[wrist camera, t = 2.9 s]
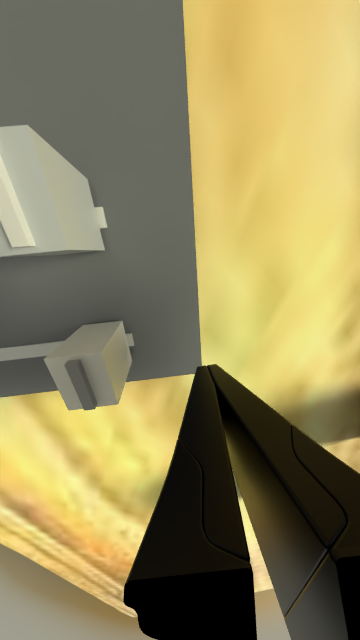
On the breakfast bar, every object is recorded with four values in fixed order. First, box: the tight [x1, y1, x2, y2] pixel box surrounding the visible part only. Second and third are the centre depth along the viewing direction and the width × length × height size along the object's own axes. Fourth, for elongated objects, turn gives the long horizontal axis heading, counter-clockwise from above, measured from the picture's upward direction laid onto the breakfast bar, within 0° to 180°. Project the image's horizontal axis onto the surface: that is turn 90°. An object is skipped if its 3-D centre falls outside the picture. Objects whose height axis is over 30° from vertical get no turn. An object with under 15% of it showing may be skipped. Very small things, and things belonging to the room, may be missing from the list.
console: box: [0, 0, 202, 397], centre depth 10 cm, size 22×18×2 cm
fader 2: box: [44, 321, 132, 410], centre depth 9 cm, size 2×3×4 cm
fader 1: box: [0, 125, 105, 257], centre depth 6 cm, size 2×3×4 cm
